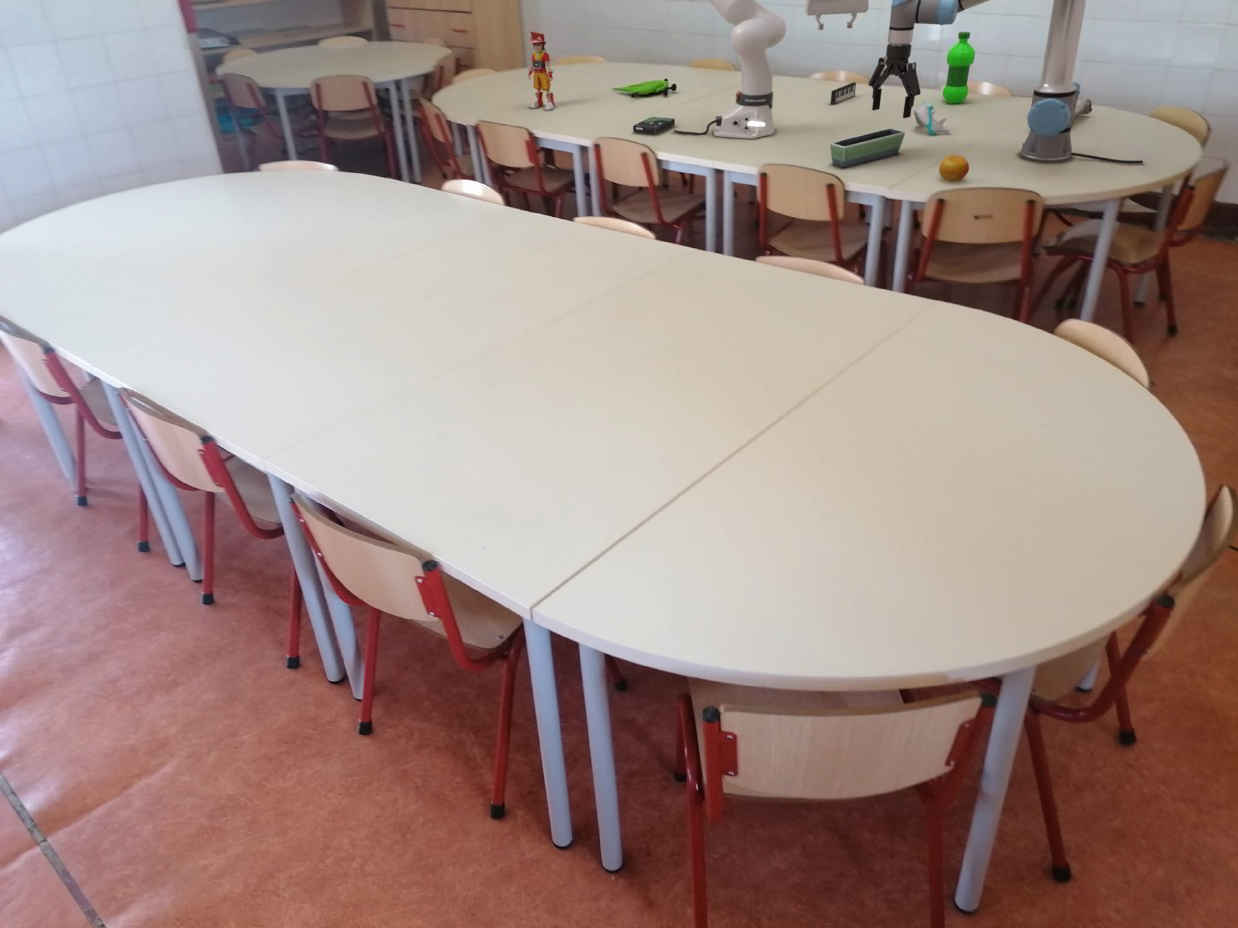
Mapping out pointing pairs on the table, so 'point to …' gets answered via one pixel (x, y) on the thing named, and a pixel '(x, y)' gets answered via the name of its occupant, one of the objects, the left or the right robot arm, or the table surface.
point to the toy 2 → (648, 88)
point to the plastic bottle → (958, 69)
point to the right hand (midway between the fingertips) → (890, 113)
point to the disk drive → (653, 125)
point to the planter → (866, 147)
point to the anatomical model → (929, 119)
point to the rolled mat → (1082, 107)
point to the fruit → (954, 168)
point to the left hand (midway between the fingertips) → (835, 29)
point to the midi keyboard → (843, 93)
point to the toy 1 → (541, 71)
